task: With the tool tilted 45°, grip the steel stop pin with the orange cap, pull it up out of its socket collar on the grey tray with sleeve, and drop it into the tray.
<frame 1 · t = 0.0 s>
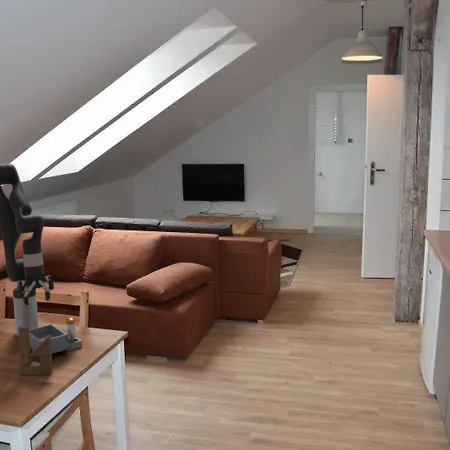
hand: (37, 302, 213), 17 cm above the table, tool pointing down, fingers open, 8 cm apart
brown wooden stand: (36, 373, 189), on the table
grey tray with sleeve: (47, 353, 206), on the table
stop pin: (72, 346, 213), resting in grey tray with sleeve
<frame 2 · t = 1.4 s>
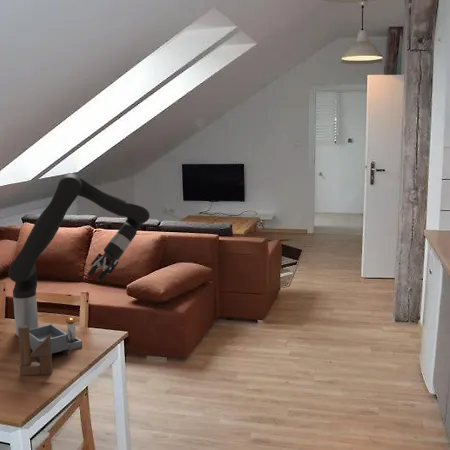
hand: (93, 277, 215), 27 cm above the table, tool tilted 45°, fingers open, 8 cm apart
nothing on the table moved.
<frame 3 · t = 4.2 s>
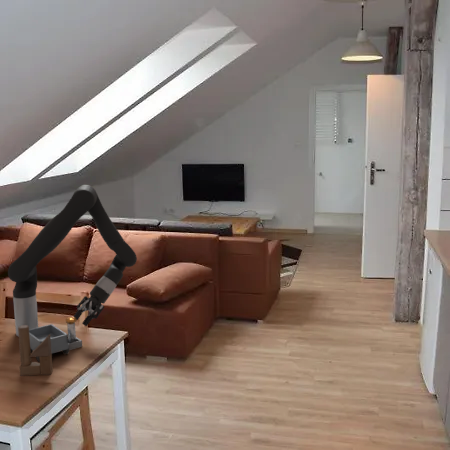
hand: (79, 322, 213), 9 cm above the table, tool tilted 45°, fingers open, 8 cm apart
nothing on the table moved.
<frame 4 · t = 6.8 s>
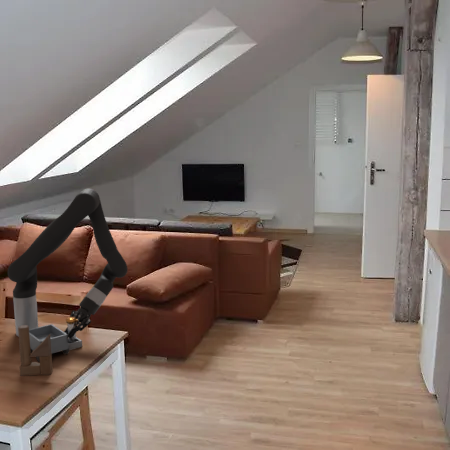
hand: (67, 335, 210), 5 cm above the table, tool tilted 45°, fingers closed on stop pin, 3 cm apart
stop pin: (72, 346, 213), resting in grey tray with sleeve, touching gripper
everything else where it was.
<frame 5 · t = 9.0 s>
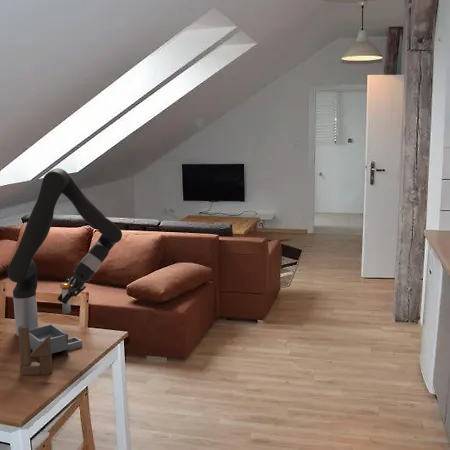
hand: (61, 301, 207), 20 cm above the table, tool tilted 45°, fingers closed on stop pin, 3 cm apart
stop pin: (66, 312, 209), point 15 cm above the table, touching gripper
everything else where it was.
when the fingers open (12 cm above the table, at t = 11.7 s): stop pin drops 2 cm, resting on grey tray with sleeve.
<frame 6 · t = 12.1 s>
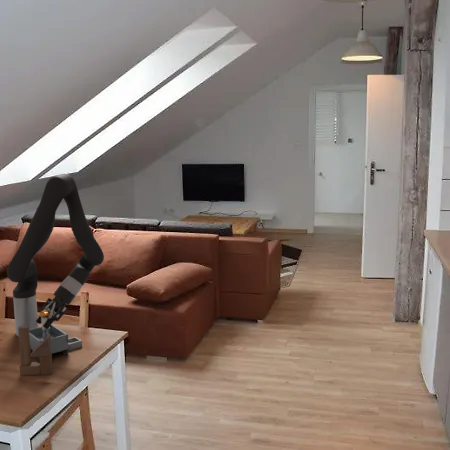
hand: (41, 325, 202), 12 cm above the table, tool tilted 45°, fingers open, 6 cm apart
stop pin: (46, 340, 205), point 5 cm above the table, touching grey tray with sleeve
everything else where it was.
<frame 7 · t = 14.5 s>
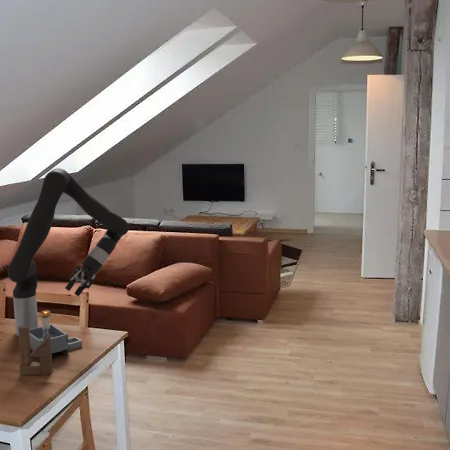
hand: (71, 292, 210), 23 cm above the table, tool tilted 45°, fingers open, 8 cm apart
nothing on the table moved.
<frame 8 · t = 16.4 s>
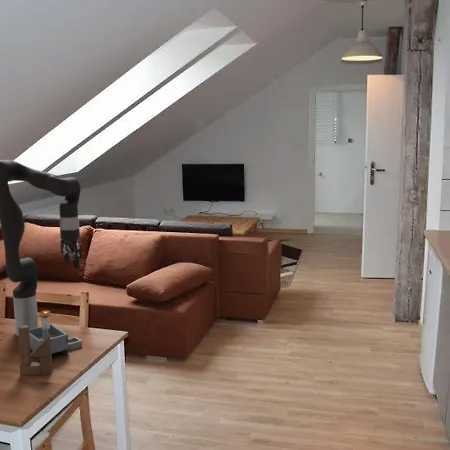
hand: (71, 266, 212), 32 cm above the table, tool pointing down, fingers open, 8 cm apart
nothing on the table moved.
at the end: stop pin inside the target area on the grey tray with sleeve (0.1 cm from its centre), point 5.2 cm above the grey tray with sleeve's base; the gripper is holding nothing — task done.
